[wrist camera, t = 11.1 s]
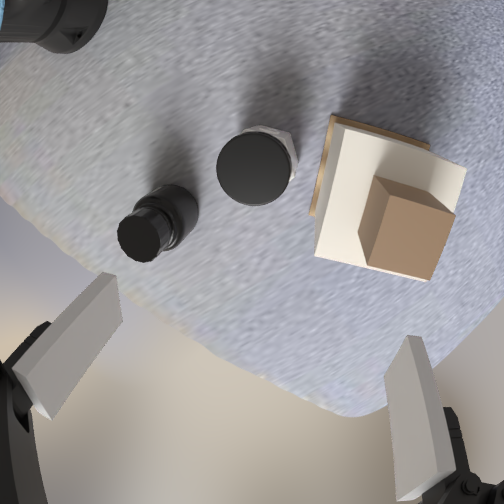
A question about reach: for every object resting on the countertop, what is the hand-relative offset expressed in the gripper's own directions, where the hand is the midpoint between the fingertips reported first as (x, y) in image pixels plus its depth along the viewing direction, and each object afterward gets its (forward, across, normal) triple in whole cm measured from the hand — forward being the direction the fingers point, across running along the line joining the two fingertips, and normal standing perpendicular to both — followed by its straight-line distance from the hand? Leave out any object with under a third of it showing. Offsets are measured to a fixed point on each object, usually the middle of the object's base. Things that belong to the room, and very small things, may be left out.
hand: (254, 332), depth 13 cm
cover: (+34, +11, +1) cm, 36 cm away
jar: (+35, -4, +1) cm, 35 cm away
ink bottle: (+35, -18, -10) cm, 40 cm away
